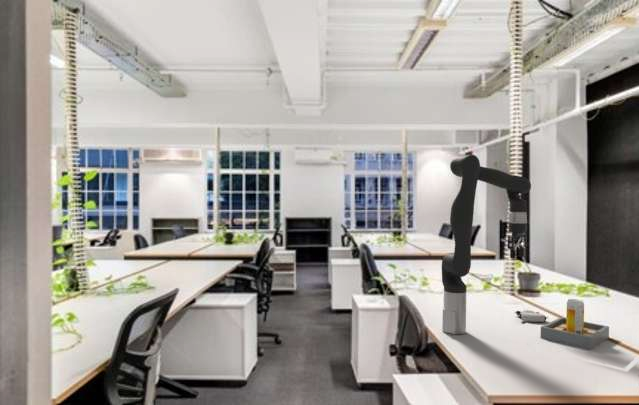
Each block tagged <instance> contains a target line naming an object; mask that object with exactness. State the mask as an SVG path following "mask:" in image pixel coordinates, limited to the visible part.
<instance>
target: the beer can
mask: <svg viewBox="0 0 639 405" xmlns="http://www.w3.org/2000/svg"><path fill="white" fill-rule="evenodd" d="M566 318H567V319H566V331H568V332H573V333H577V334H584V322H585V303H584V301H583V300H580V299H575V298H571V299H570V298H569V299H567V301H566Z"/></svg>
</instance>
